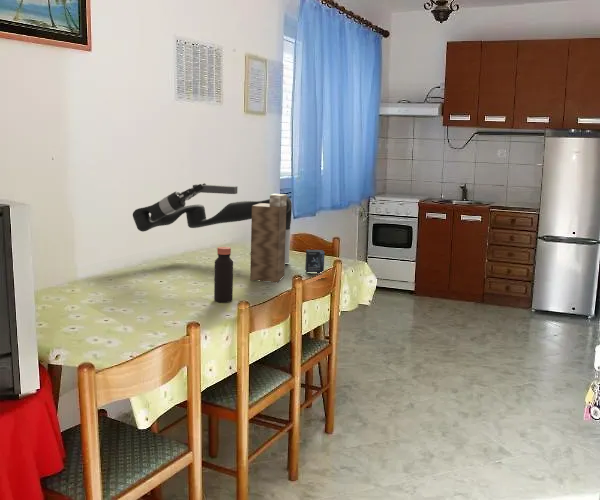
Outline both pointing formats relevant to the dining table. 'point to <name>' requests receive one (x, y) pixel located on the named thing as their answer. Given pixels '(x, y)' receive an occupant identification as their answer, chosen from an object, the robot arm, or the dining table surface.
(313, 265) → the box
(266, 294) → the dining table surface
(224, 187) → the dark grey matte block
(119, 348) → the dining table surface
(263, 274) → the stand
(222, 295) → the bottle
